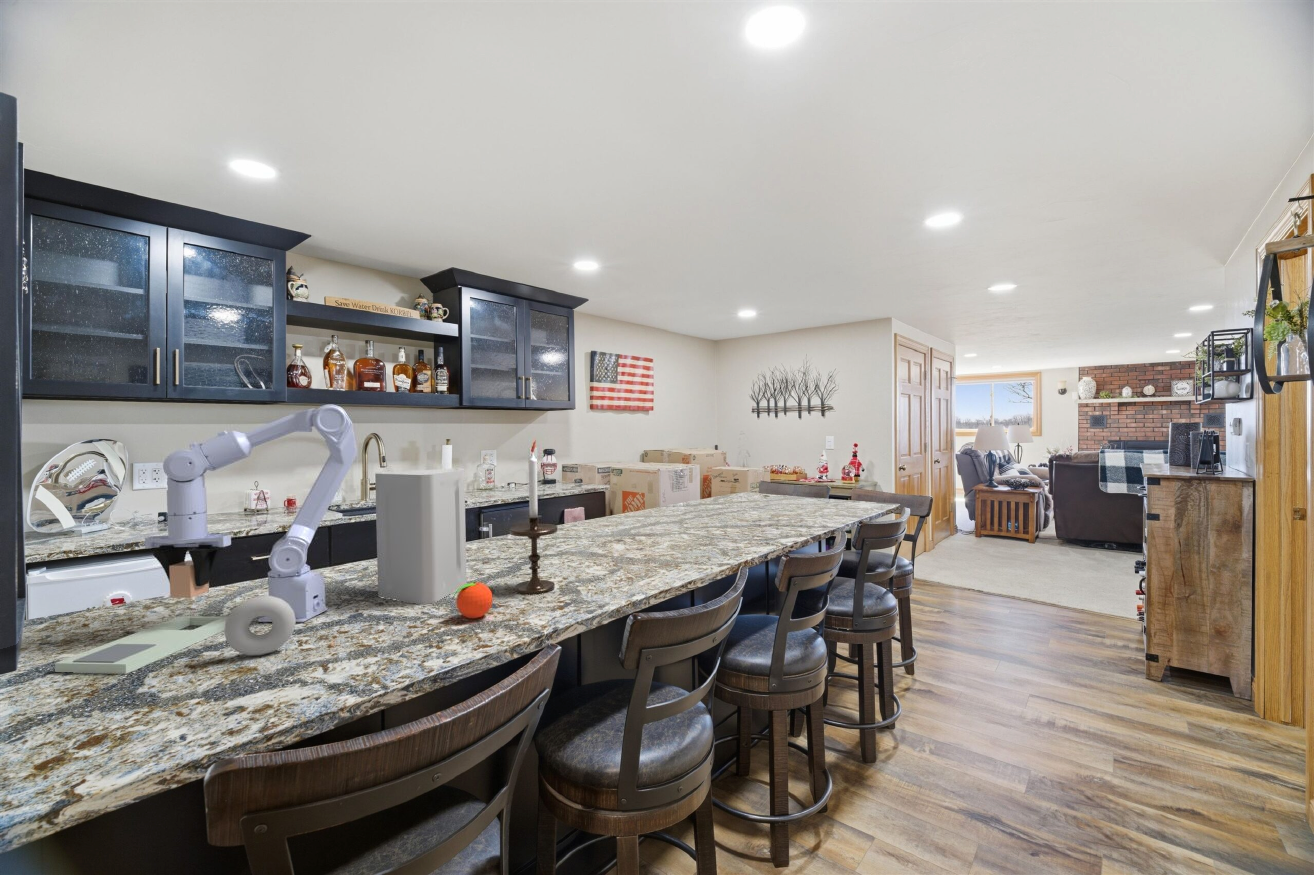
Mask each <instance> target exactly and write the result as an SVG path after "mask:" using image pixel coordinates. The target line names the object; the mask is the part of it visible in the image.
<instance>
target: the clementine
mask: <svg viewBox="0 0 1314 875" xmlns="http://www.w3.org/2000/svg"><path fill="white" fill-rule="evenodd" d="M455 595H457V596H456V608H457V610H458V612H459V613H460V614H461V615H462V616H464V617H466V618H468V619H478V618H481V617H483V616H484V615H485V614H487V613H488V612H489V611H490V609H491V607H492V605H493V601H494V600H493V593H492V591H491V589H490V588H489V587H488V585H486V584H484V583H481V582H476V581H473V582H469V583H467V584H466V585H464V586H462V587H460V588H459V589H458V590H457V591H456V592H455V593H453V597H452V599H451V600H452V601H453V600H454V598H455Z"/></svg>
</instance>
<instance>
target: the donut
mask: <svg viewBox="0 0 1314 875" xmlns="http://www.w3.org/2000/svg"><path fill="white" fill-rule="evenodd" d="M264 616H265V617H268V618H270V619H271V621H272V622H271V623H272V627H271V628H270V630H269V631H267V632H266V633H262V634H258V633H257V634H256V633H254V632H252V630H251V629H250V624H251V622H252V621H253V620H254V619H256V618H258V617H259V618H260V617H264ZM227 617H228V618H227V620H226V623H225V630H224V631H223V632H224V635H225V637H224V638H225V641H226V642H227V643H228V645H229V646H230V648H231V649H233V650H235V652H238V653H239V654H242V655H247V656H253V657H254V656H263V655H267V654H270V653H273V652H275V651H277V650H278V649H280V648H281V647H283V646H284V644H286V643H287V642H288V640H290V638H291V637H292V635H293V633H294V630H295V629H296V623H297V622H296V619H295V614H294V611H293V609H292V608H291V607H290V605H289V604H288V603H286V602H285V601H284V600H282V599H280V598H277V597H273V596H269V595H258V596H254V597H251V598H249V599H247V600H245V601H243V602H241V603H239V604H238V605H237V606H236V607H235V608H233V609H232V611H231V612H230V613H229V615H228V616H227Z"/></svg>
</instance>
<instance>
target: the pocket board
mask: <svg viewBox="0 0 1314 875" xmlns="http://www.w3.org/2000/svg"><path fill="white" fill-rule="evenodd" d="M228 617H229V616H197V615H196V616H193V615H192V616H189V615H188V616H186V615H184V616H183V615H181V616H177V617H174V618H171V619H169V620H167V621H164V622H161V623H159V624H156V625H153V626H151V627H147V628H145V629H143V630H140V631H137V632H135V633H132V634H129V635H127V636H124V637H121V638H118V639H116V640H113V641H110V642H108V643H104V644H102V645H100V646H98V647H97V646H96V647H95V648H92V649H89V650H87V651H84V652H81V653H79V654H75V655H73V656H71V657H67V658H66V659H62V660H60V661H57V662H54V673H55V672H73V673H72V674H110V675H112V674H113V675H114V674H116V675H117V674H120V675H122V674H123V675H124V674H125V675H127V674H129V673H131V672H134V671H136V670H138V669H140V668H143V667H145V666H147V665H150V664H151V663H153V662H157V661H158V660H159V661H160V660H161V659H163V658H165V657H167V656H168V657H169V655H172V654H174V653H177V652H178V651H182V650H183V649H185V648H188V647H190V646H193V645H194V644H197V643H199V642H202V641H204V640H206V639H209V638H211V637H213V636H215V635H218V634H220V633H222V632H224V630H225V623H226V620H227V618H228ZM189 626H199V627H197V628H194V629H184V628H187V627H189Z"/></svg>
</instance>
